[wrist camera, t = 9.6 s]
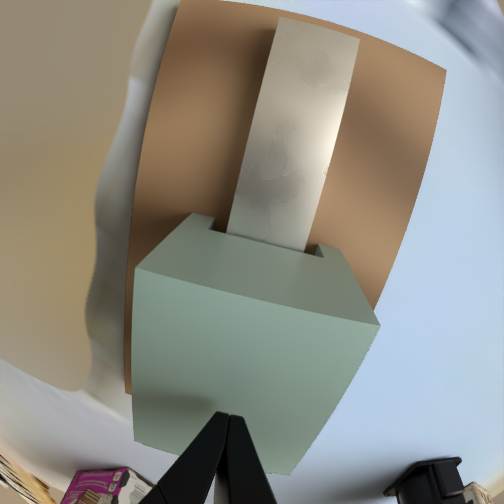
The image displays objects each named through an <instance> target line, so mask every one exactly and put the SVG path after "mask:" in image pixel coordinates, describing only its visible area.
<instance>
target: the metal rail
mask: <svg viewBox="0 0 504 504" xmlns="http://www.w3.org/2000/svg"><path fill="white" fill-rule="evenodd" d="M359 42H360V39H359V38H356V37H353V36H350V35H347V34H344V33H341V32H338V31H334V30H331V29H328V28H324V27H321V26H317V25H313V24H309V23H306V22H302V21H297V20H293V19H289V18H284V17H280V18H279V22H278V25H277V29H276V33H275V36H274V40H273V44H272V47H271V51H270V55H269V59H268V62H267V66H266V70H265V74H264V77H263V81H262V85H261V89H260V93H259V97H258V101H257V105H256V109H255V113H254V117H253V121H252V125H251V129H250V133H249V137H248V141H247V145H246V149H245V153H244V158H243V162H242V166H241V170H240V174H239V179H238V183H237V187H236V192H235V196H234V200H233V205H232V209H231V213H230V218H229V222H228V227H227V231H226V234H229V235H233V236H237V237H241V238H245V239H249V240H254V241H258V242H262V243H266V244H270V245H274V246H278V247H282V248H286V249H290V250H294V251H298V252H302V253H304V249H305V246H306V243H307V240H308V236H309V233H310V230H311V227H312V223H313V220H314V216H315V213H316V210H317V206H318V203H319V199H320V196H321V192H322V189H323V185H324V182H325V178H326V175H327V171H328V168H329V164H330V160H331V157H332V153H333V149H334V145H335V142H336V138H337V134H338V130H339V126H340V122H341V119H342V115H343V111H344V107H345V103H346V98H347V94H348V90H349V86H350V82H351V78H352V73H353V69H354V65H355V60H356V56H357V51H358V47H359Z"/></svg>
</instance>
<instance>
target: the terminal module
mask: <svg viewBox="0 0 504 504" xmlns="http://www.w3.org/2000/svg"><path fill="white" fill-rule="evenodd" d="M214 221H215V218H213V217H209V216H205V215H201V214H197V213H192V214H191V215H189V216H188V217H187V218H186V219H185V220H184V221H183V222H182V223H181V224H180V225H179V226H178V227H177V228H176V229H174V230H173V231H172V232H171V233H170V234H169V235H168V236H167V237H166V238H165V239H164V240H163V241H162V242H161V243H160V244H159V245H158V246H157V247H156V248H155V249H154V250H153V251H152V252H151V253H149V254H148V255H147V256H146V257H145V258H144V259H143V260H142V261H141V262H140V263H139V264H138V265H137V266H136V267H135V277H134V292H133V310H132V342H131V380H132V411H133V429H134V441H136V442H139V443H142V444H145V445H148V446H151V447H154V448H157V449H160V450H164V451H167V452H171V453H174V454H178V455H181V454H182V453H183V452H184V451H185V449H186V448H187V447H188V446H189V444H190V443H191V442H192V441H193V440H194V438H195V437H196V436H197V435H198V433H199V432H200V431H201V430H202V428H203V427H204V426H205V425H206V423H207V422H208V421H209V420H210V418H211V417H212V416H213V414H214V413H215V412H216V411H221V412H225V413H228V414H229V415H231V414H234V415H239V416H243V417H244V419H245V422H246V424H247V427H248V430H249V433H250V435H251V438H252V441H253V443H254V446H255V449H256V451H257V454H258V457H259V459H260V462H261V464H262V467H263V469H264V472H266V473H274V474H283V475H290V474H291V472H292V471H293V470H294V468H295V467H296V466H297V464H298V463H299V462H300V460H301V459H302V457H303V456H304V455H305V453H306V452H307V450H308V449H309V448H310V446H311V445H312V443H313V442H314V440H315V439H316V437H317V436H318V434H319V433H320V431H321V430H322V428H323V427H324V425H325V424H326V422H327V421H328V419H329V418H330V416H331V414H332V413H333V411H334V410H335V408H336V406H337V405H338V403H339V402H340V400H341V398H342V397H343V395H344V393H345V392H346V390H347V388H348V386H349V385H350V383H351V381H352V380H353V378H354V376H355V374H356V372H357V371H358V369H359V367H360V365H361V363H362V362H363V360H364V358H365V356H366V354H367V352H368V350H369V348H370V346H371V344H372V343H373V341H374V339H375V337H376V335H377V333H378V331H379V329H380V324H379V322H378V320H377V318H376V316H375V314H374V312H373V310H372V308H371V306H370V304H369V302H368V300H367V298H366V296H365V294H364V292H363V291H362V289H361V287H360V285H359V283H358V281H357V279H356V277H355V276H354V274H353V272H352V270H351V268H350V266H349V265H348V263H347V261H346V259H345V257H344V256H343V254H342V252H341V250H340V249H337V248H333V247H329V246H325V245H321V244H318V247H317V250H316V253H315V256H313V255H310V254H306V253H302V252H298V251H294V250H290V249H286V248H282V247H278V246H274V245H270V244H266V243H262V242H258V241H254V240H249V239H245V238H241V237H237V236H233V235H229V234H225V233H221V232H217V231H213V226H214Z"/></svg>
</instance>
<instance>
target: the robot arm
mask: <svg viewBox="0 0 504 504" xmlns="http://www.w3.org/2000/svg"><path fill="white" fill-rule="evenodd" d="M461 462H462V459H461V458H453V459H446V460H438V461H429V462H420V463H417V464H415V465H414V466H412V467H411V468H410V469H409V470H408V471H407V472H406V473H405V474H404V475H403V476H402V477H401V478H400V479H398V480H397V481H396V482H395V483H394V484H393V485H392V486H390V487H389V488H388V489H387V490H386V491H385V492H384V493H383V494H384V496H385V497H387V496H396V498H397V502H398V504H476V503H475V501H474V500H473V499H471V500H469V501H467V503H466V500H465V497H464V494H463V493H464V491H465V489H464V486H463V483H462V480H461V478H460V475H459V472H458V470H457V466H458V465H459V464H460V463H461ZM215 473H216V475H215ZM214 476H215V488H214V504H277V502H276V499H275V497H274V494H273V492H272V489H271V487H270V485H269V482H268V480H267V477H266V475H265V472H264V469H263V467H262V464H261V462H260V459H259V457H258V454H257V451H256V449H255V446H254V443H253V441H252V438H251V435H250V433H249V430H248V427H247V424H246V422H245V419H244V417H243V416H239V415H234V414H231V415H229V414H228V413H225V412H221V411H216V412H215V413H214V414H213V416H212V417H211V418H210V420H209V421H208V422H207V423H206V425H205V426H204V427H203V428H202V430H201V431H200V432H199V433H198V435H197V436H196V437H195V438H194V440H193V441H192V442H191V443H190V444H189V446H188V447H187V448H186V449H185V451H184V452H183V453H182V454H181V455H180V457H179V458H178V459H177V460H176V461H175V462H174V464H173V465H172V466H171V467H170V468H169V470H168V471H167V472H166V473H165V474H164V475H163V477H162V478H161V479H160V480H159V481H158V482H157V485H154V487H153V488H152V489H151V490H150V491H149V492H148V493H147V494H146V495H145V496H144V497H143V498H142V499H141V500H140V501H139V502H138V503H137V504H204V502H205V500H206V497H207V495H208V492H209V489H210V487H211V484H212V481H213V479H214Z"/></svg>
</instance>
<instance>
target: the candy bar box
mask: <svg viewBox="0 0 504 504" xmlns="http://www.w3.org/2000/svg"><path fill="white" fill-rule="evenodd" d="M153 487H154V485H153V484H151V483H150V482H148V481H147V480H145V479H144V478H143V477H141V476H140V475H139V474H137V473H136V472H134V471H133V470H131V469H130V468H120V469H109V470H94V471H77V472H76V474H75V476H74V477H73V480H72V481H71V483H70V485H69V487H68V489H67V491H66V493H65V495H64V498H63V499H62V501H61V503H60V504H137V503H138V502H139V501H140V500H141V499H142V498H143V497H144V496H145V495H146V494H147V493H148V492H149V491H150V490H151V489H152V488H153Z"/></svg>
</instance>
